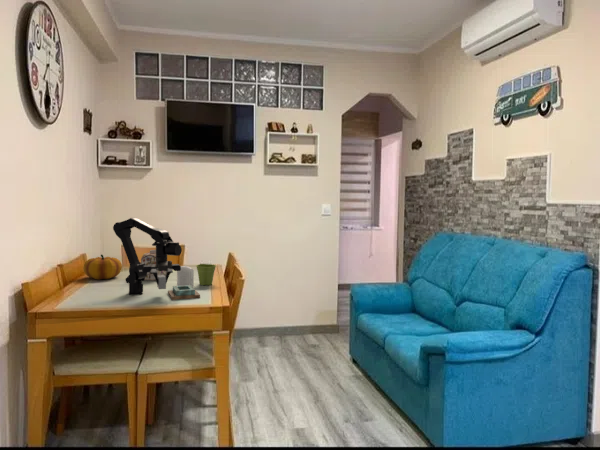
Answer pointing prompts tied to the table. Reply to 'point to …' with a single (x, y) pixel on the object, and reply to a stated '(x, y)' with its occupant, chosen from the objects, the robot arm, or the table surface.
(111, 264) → the decorative pumpkin
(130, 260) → the robot arm
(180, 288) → the well board
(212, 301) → the table surface
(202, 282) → the plant pot
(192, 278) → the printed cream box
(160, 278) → the silver metal block
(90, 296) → the table surface
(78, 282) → the table surface
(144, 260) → the decorative jar
